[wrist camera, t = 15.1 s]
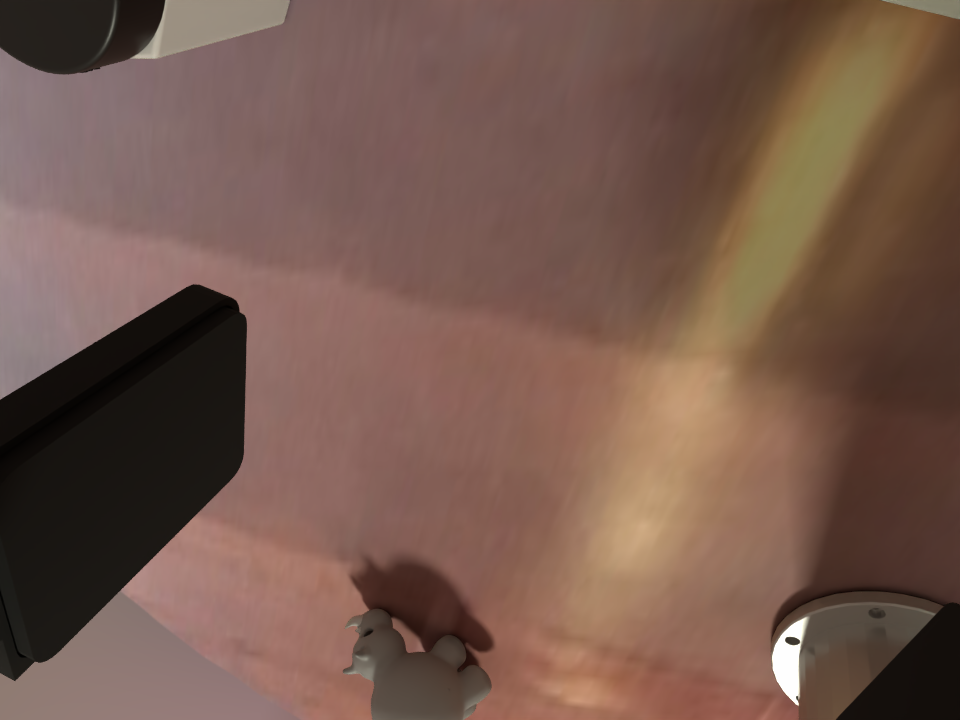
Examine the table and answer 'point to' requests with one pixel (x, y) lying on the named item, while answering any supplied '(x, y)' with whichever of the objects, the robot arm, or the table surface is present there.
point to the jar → (123, 29)
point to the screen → (933, 6)
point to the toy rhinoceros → (414, 673)
